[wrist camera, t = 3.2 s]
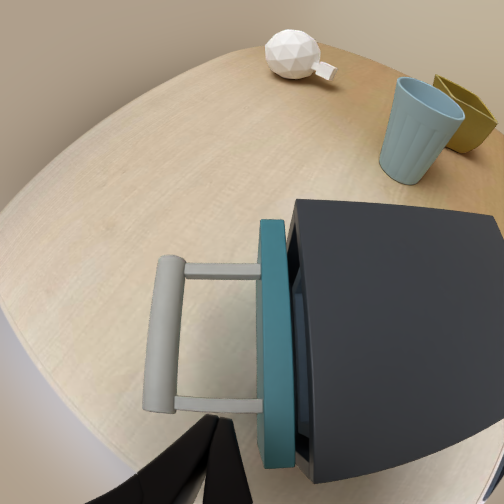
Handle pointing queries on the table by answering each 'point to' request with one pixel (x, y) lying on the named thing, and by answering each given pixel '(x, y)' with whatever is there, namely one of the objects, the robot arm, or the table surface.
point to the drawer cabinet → (395, 332)
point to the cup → (417, 129)
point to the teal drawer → (268, 345)
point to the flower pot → (467, 116)
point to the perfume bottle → (296, 56)
